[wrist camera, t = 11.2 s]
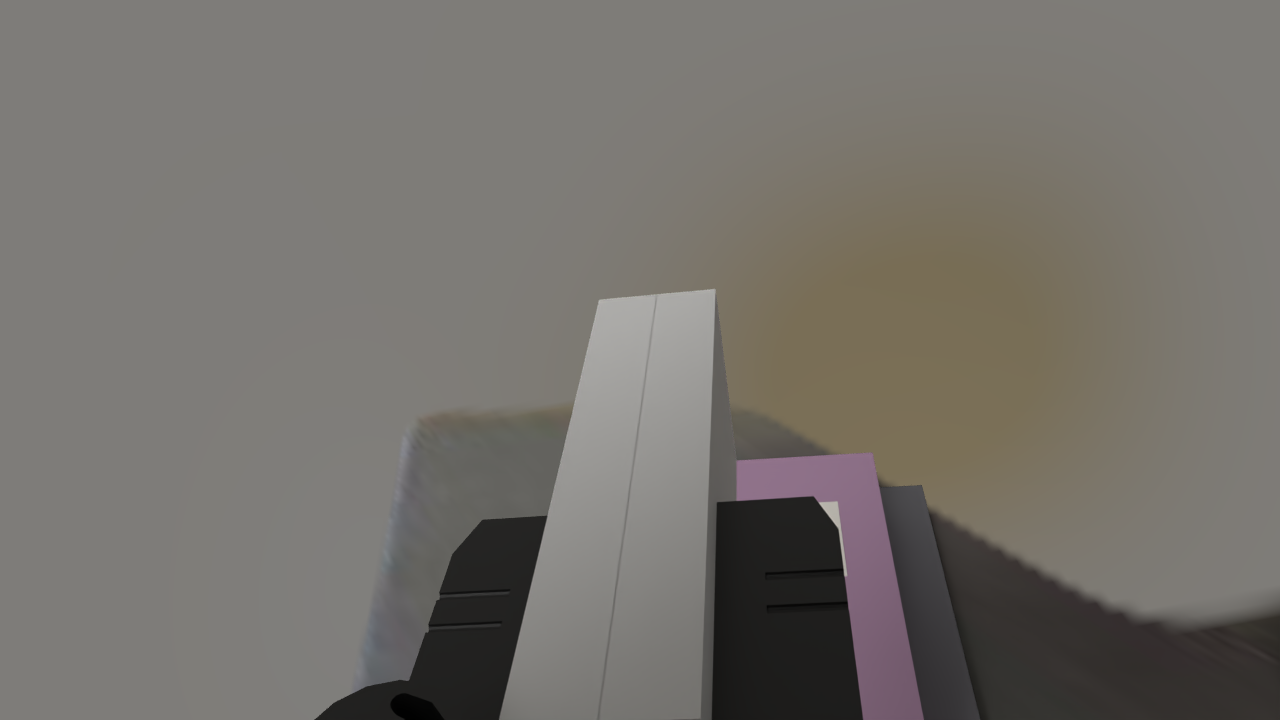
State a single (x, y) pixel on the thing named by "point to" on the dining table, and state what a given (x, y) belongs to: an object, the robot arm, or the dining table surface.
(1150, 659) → the dining table surface
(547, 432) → the dining table surface
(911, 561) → the mat
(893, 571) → the box
